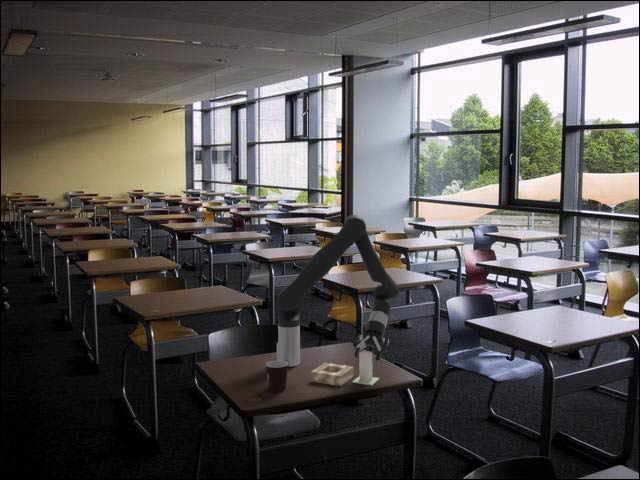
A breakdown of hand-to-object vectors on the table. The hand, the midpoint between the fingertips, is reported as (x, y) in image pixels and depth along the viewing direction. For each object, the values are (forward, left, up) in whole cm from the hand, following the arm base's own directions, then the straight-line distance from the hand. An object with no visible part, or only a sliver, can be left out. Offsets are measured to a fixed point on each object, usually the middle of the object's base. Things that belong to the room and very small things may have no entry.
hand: (366, 359), depth 256 cm
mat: (0, -1, -9) cm, 9 cm away
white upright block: (0, -2, -8) cm, 8 cm away
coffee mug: (-28, -22, -9) cm, 37 cm away
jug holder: (-13, -4, -9) cm, 16 cm away
